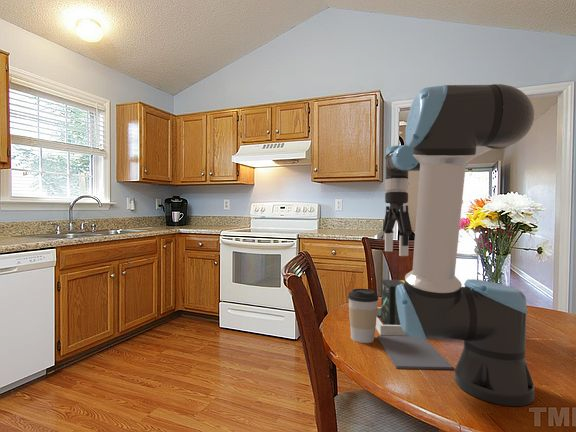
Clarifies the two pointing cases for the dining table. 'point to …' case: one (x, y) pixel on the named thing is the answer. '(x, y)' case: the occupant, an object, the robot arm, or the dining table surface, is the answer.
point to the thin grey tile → (413, 353)
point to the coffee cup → (362, 314)
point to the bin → (388, 327)
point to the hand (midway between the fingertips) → (395, 253)
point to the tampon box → (390, 302)
